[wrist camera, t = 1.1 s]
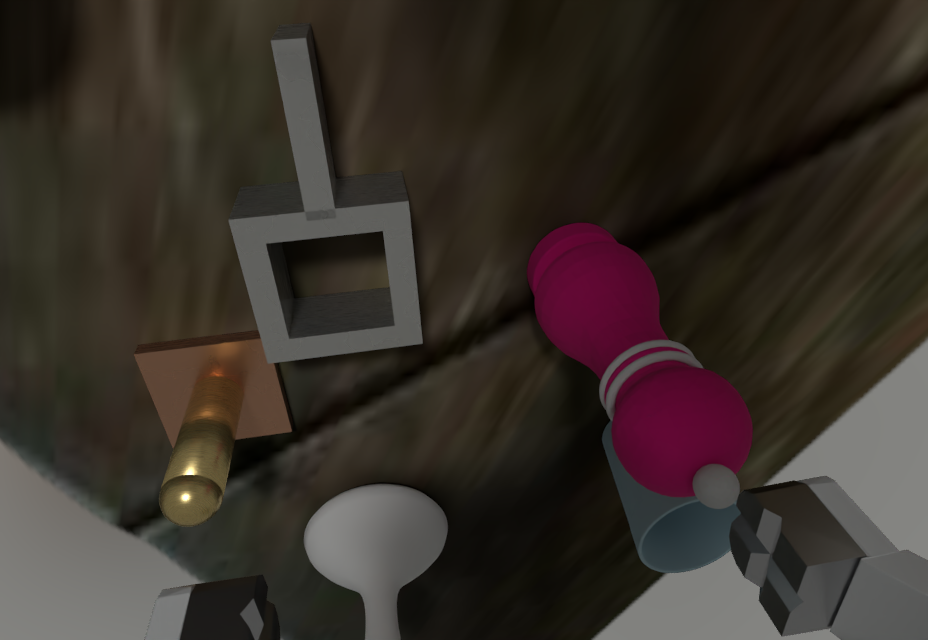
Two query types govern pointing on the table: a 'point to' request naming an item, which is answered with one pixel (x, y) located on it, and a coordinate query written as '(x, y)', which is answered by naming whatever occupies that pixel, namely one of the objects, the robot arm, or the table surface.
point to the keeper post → (210, 413)
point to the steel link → (322, 231)
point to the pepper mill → (640, 367)
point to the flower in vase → (376, 546)
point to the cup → (670, 522)
